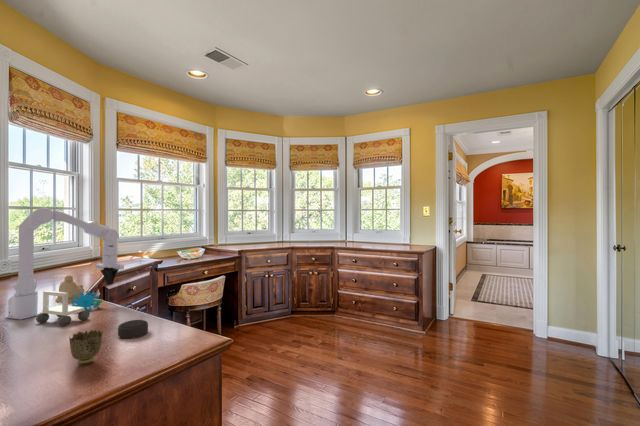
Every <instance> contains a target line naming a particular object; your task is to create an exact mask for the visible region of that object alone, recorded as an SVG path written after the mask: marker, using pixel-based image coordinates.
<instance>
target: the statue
mask: <svg viewBox="0 0 640 426" xmlns="http://www.w3.org/2000/svg"><path fill="white" fill-rule="evenodd" d="M58 292H65V293H68V303H71V301H72V300H73V299H74V300H75V301H78V300H77V299H75V298H74V296H75V295H78V298H80V297H81V296H80V292H83V295H82V296H84V295H85V294H84V293H85V289H84V285H83V284H77V282H75V281H74V277H73V275H72V274H67V275H65V276H64V280H63V281H61V282H60V284H59V286H58ZM59 302H62V296H56V298H55V303H59Z"/></svg>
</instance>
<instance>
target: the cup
mask: <svg viewBox="0 0 640 426" xmlns="http://www.w3.org/2000/svg"><path fill="white" fill-rule="evenodd" d="M103 333H104V332H103V330H100V329H98V330H96V329H94V330H93V329H91V330H90V331H89V332H88V331H87V330H85V331H84V332H82V331H78V332H77V333H73V334H72V337H71V336H69V337H68V340H69V347H70V353H71V356H72V357H73V359H75V360H77V364H78V365H79V366H87V365H90V364H92V363H93V362H94V360H95V356H96V355H98V353H99V352H100V349H101V346H102V338H103Z"/></svg>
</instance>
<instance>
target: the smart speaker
mask: <svg viewBox="0 0 640 426" xmlns="http://www.w3.org/2000/svg"><path fill="white" fill-rule="evenodd" d="M148 330H149V322H148V321H147V320H144V319H134V320H128V321H125V322H122V323H120V324H119V325H118V326H117V336H118V337H119V338H121V339H124V340H125V339H127V340H128V339H135V338H139V337H142V336H144V335H145V334H147V333H148V332H149V331H148Z"/></svg>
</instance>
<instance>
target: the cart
mask: <svg viewBox="0 0 640 426" xmlns="http://www.w3.org/2000/svg"><path fill="white" fill-rule="evenodd" d="M50 296H54V297H58V296H62V303H61V304H60V305H57V306H52V307H49V306H50V305H49V303H50ZM77 313H78V315H77V318H78V320H79V321H86V320H88V319H89V317H90V315H91V314H90V311H88V310H87V309H85V310H84V307H75V306H72V305H69V302H68V293H65V292H59V291H54V290H43V292H42V312H41V313H40V314H38V315H37V316H35V321H36V322H37V323H41V324H44V323H46V322H48V321H49V319H50V315H55V316H56V317H57V318H59V319H58V325H59V326H62V327H67V326H69V325H70V324H71V322H72V317H71V316H70V315H74V314H77Z"/></svg>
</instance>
